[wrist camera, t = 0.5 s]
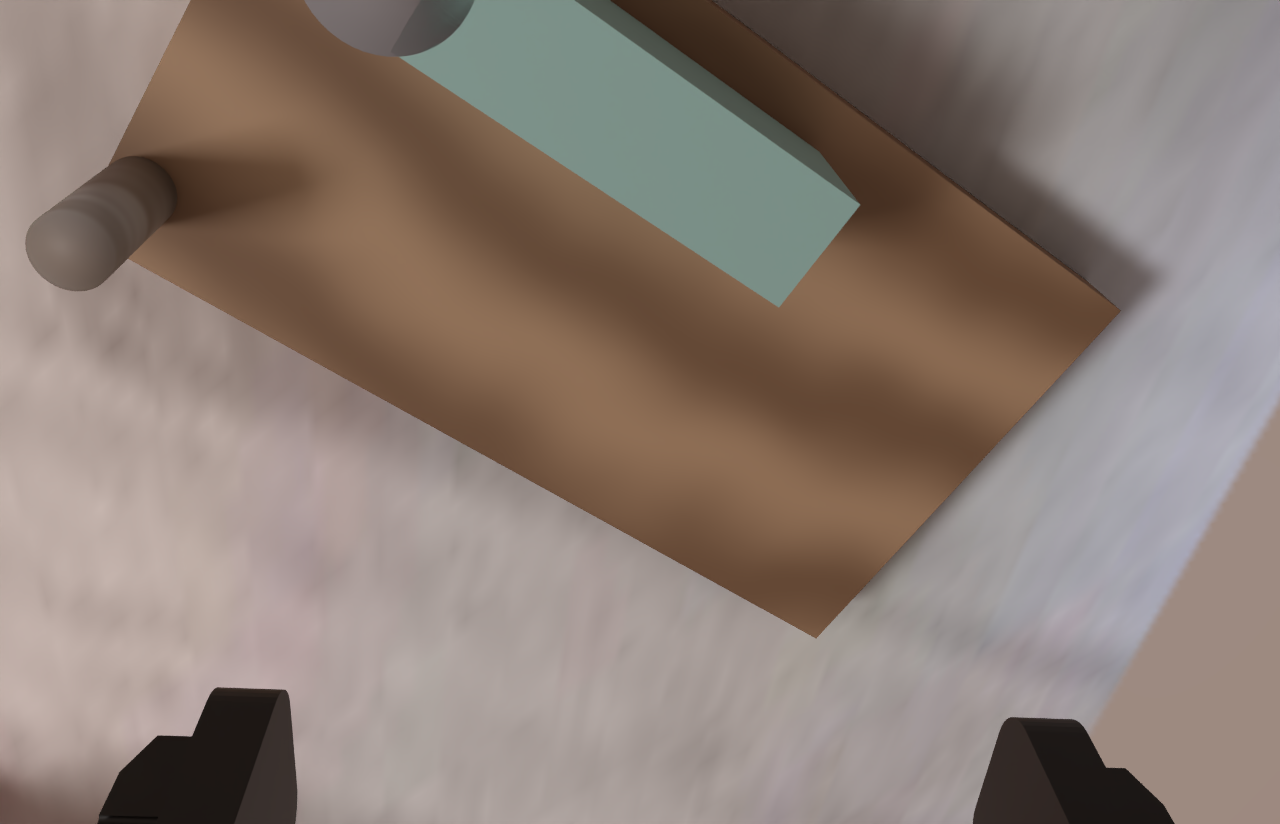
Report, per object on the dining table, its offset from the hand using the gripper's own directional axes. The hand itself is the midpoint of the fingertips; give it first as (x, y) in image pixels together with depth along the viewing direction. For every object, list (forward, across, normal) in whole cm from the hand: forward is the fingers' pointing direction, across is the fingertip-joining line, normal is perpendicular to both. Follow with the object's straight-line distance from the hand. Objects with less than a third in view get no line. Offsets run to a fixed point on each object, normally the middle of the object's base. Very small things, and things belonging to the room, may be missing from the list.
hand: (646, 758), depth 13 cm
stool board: (+24, 0, +3) cm, 25 cm away
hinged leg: (+22, +1, -3) cm, 22 cm away
